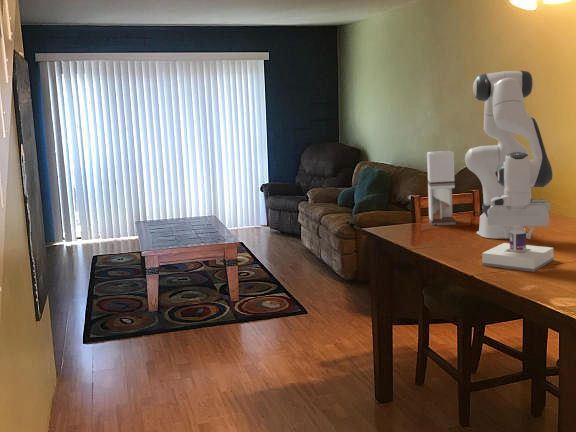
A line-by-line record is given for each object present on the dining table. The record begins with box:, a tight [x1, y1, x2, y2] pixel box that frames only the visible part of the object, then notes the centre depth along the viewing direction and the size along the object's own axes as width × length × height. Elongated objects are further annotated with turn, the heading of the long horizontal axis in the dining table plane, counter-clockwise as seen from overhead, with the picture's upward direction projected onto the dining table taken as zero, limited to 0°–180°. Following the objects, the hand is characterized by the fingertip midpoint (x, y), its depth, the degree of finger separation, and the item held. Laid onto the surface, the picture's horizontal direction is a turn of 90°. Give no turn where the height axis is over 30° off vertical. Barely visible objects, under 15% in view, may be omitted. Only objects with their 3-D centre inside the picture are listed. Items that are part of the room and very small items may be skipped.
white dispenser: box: [426, 150, 457, 226], centre depth 285 cm, size 11×11×35 cm
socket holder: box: [481, 242, 554, 273], centre depth 206 cm, size 18×18×4 cm
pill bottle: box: [509, 225, 527, 252], centre depth 205 cm, size 5×5×10 cm
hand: (517, 238), depth 205 cm, fingers closed on pill bottle, 5 cm apart
